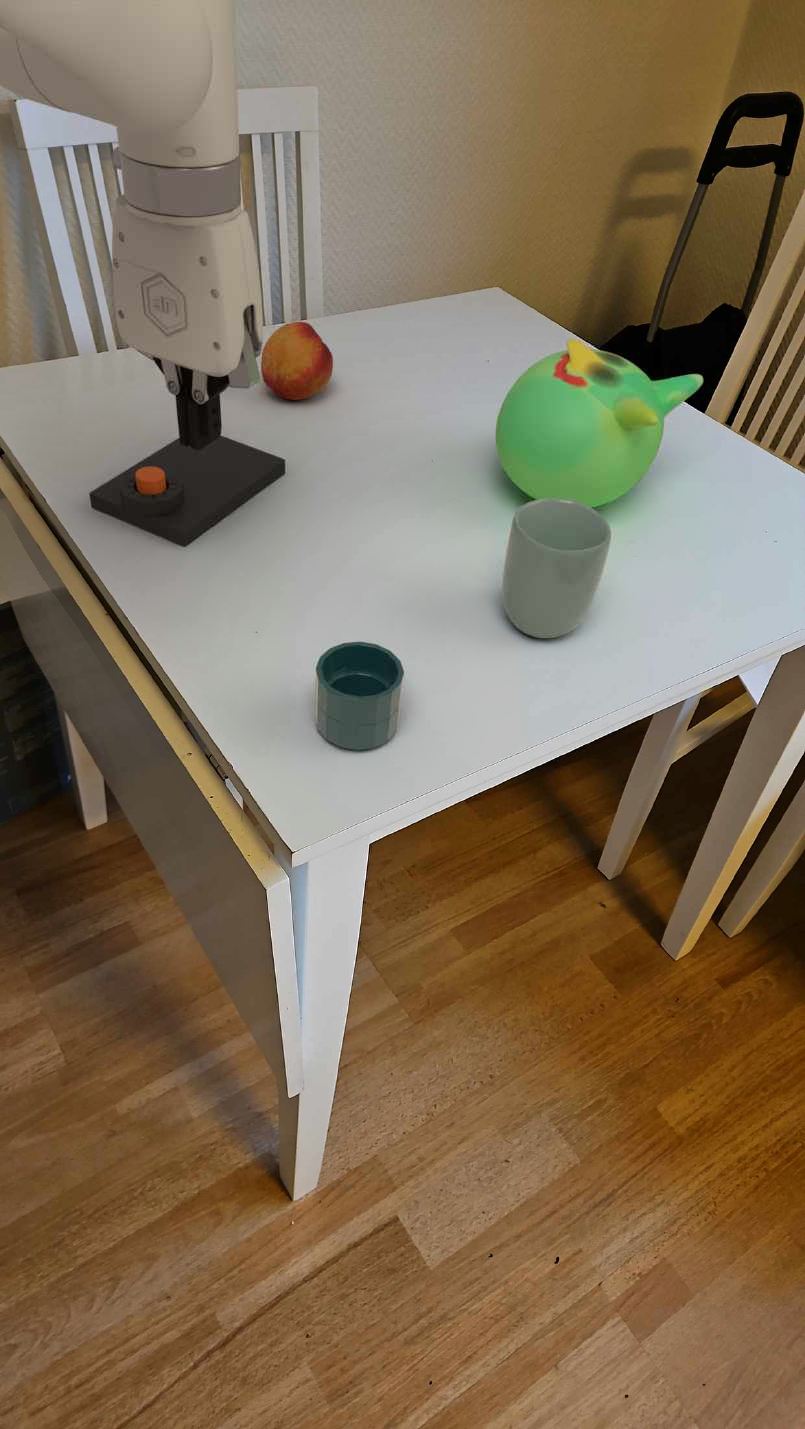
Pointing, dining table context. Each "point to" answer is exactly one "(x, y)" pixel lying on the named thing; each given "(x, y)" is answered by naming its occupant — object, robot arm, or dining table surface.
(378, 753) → the dining table surface
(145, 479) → the button
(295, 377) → the fruit
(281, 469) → the scale
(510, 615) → the cup
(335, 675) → the teal hollow faceted cylinder
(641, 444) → the toy bird
